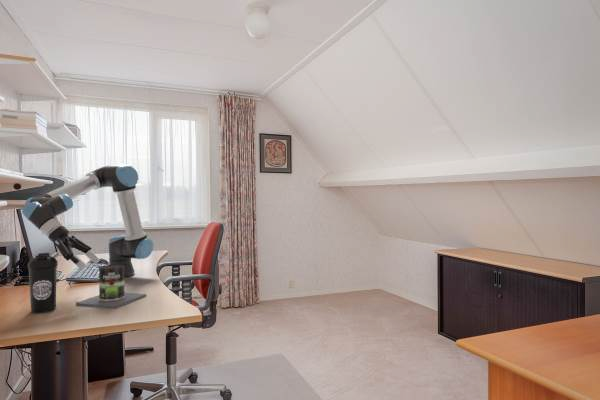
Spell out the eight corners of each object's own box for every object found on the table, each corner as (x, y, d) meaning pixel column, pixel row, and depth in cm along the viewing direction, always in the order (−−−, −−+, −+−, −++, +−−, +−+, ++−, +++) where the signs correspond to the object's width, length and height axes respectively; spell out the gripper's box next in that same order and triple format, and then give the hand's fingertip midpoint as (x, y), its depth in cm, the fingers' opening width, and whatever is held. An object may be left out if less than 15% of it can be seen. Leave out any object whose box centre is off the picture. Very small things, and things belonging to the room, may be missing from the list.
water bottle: (26, 315, 151) (25, 256, 151) (30, 308, 160) (29, 253, 160) (57, 311, 156) (56, 254, 156) (59, 305, 165) (58, 251, 165)
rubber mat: (109, 293, 184) (109, 291, 184) (146, 296, 179) (146, 293, 179) (75, 305, 165) (75, 302, 165) (115, 308, 160) (115, 306, 160)
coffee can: (124, 299, 170) (124, 267, 170) (98, 302, 166) (97, 269, 165) (125, 294, 179) (124, 263, 179) (100, 296, 175) (99, 265, 175)
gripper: (63, 234, 181) (97, 265, 183) (31, 240, 157) (71, 276, 158) (75, 222, 182) (108, 254, 184) (45, 227, 157) (84, 263, 159)
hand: (91, 264), depth 171 cm, fingers open, 13 cm apart
